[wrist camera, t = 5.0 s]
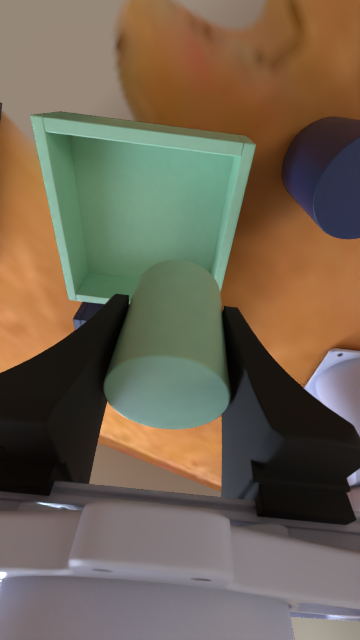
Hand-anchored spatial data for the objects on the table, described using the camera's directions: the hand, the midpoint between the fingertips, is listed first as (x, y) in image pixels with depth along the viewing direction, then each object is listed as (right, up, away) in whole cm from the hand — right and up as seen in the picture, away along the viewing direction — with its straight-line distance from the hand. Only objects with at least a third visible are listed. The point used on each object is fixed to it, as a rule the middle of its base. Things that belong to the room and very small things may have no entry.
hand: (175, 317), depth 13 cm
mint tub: (-2, +7, +6) cm, 9 cm away
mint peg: (0, +1, +1) cm, 2 cm away
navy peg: (+9, +9, +3) cm, 13 cm away
